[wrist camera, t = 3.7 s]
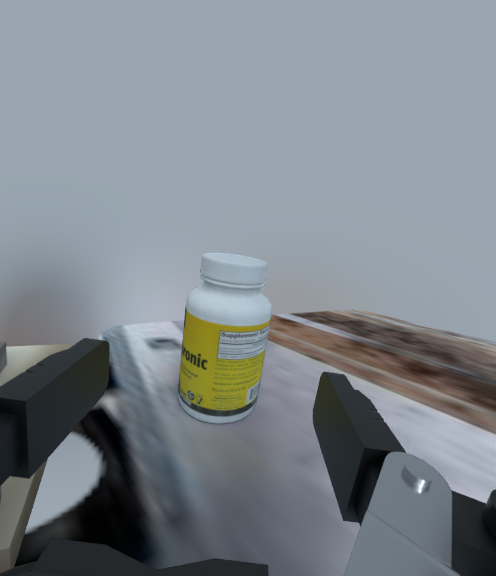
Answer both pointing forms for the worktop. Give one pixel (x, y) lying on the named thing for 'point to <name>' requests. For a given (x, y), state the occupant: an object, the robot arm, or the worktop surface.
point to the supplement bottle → (224, 339)
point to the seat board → (18, 491)
